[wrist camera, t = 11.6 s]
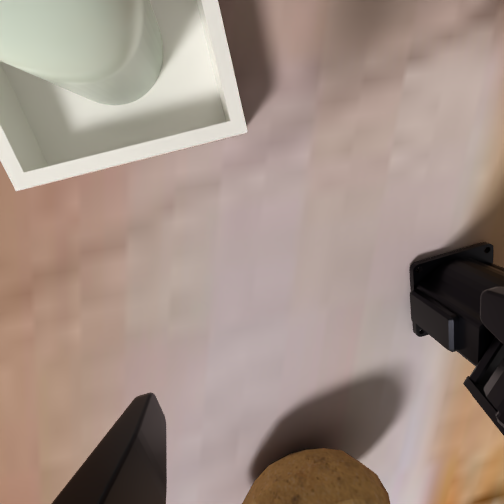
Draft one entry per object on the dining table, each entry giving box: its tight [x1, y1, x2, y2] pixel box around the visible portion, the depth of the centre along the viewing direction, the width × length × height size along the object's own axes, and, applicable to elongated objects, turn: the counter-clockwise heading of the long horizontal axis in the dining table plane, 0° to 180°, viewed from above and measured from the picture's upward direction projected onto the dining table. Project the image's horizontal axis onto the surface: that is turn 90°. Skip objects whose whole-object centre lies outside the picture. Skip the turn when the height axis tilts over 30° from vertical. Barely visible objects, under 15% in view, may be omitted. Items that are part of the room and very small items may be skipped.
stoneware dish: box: [0, 0, 248, 191], centre depth 14 cm, size 11×11×3 cm
